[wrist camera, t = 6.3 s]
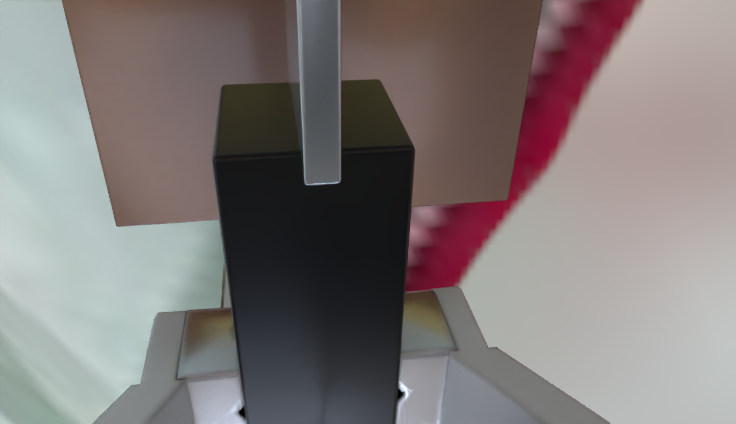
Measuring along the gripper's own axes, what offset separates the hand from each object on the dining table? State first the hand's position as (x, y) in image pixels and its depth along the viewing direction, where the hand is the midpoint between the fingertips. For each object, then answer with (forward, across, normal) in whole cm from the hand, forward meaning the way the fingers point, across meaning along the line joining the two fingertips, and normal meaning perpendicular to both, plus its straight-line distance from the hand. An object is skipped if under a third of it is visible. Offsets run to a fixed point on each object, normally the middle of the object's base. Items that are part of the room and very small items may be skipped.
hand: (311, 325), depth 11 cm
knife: (0, 0, -4) cm, 4 cm away
